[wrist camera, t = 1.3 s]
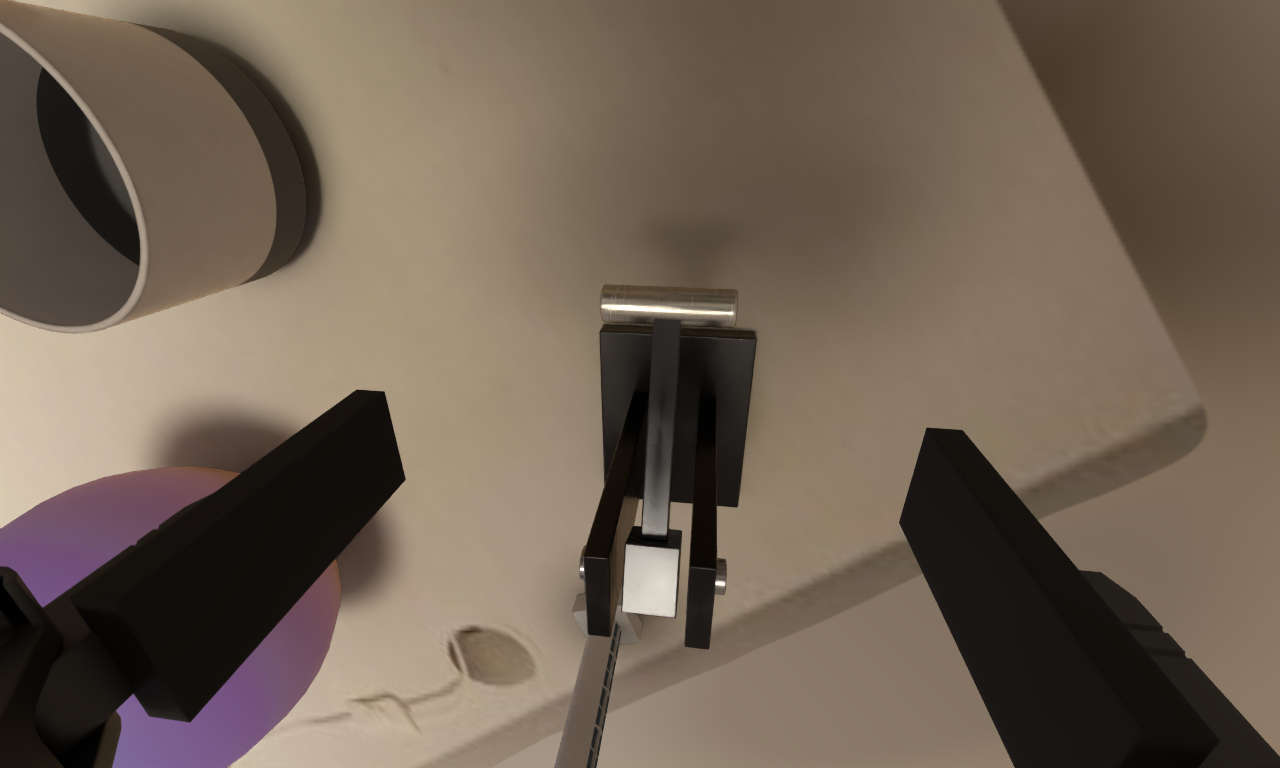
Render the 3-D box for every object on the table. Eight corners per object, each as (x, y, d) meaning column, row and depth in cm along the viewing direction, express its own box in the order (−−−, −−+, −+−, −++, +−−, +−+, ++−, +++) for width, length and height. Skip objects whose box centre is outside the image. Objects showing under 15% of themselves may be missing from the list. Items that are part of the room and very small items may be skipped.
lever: (609, 289, 23) (598, 279, 20) (735, 294, 22) (739, 284, 20) (592, 584, 23) (580, 608, 21) (716, 597, 22) (718, 623, 20)
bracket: (603, 324, 31) (520, 467, 18) (755, 331, 30) (787, 489, 17) (607, 485, 36) (546, 688, 23) (737, 496, 35) (750, 715, 22)
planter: (367, 217, 30) (210, 256, 21) (227, 308, 34) (43, 375, 25) (202, -24, 26) (-91, -111, 16) (64, 113, 30) (-236, 105, 20)
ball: (144, 530, 45) (-228, 791, 27) (181, 361, 36) (-330, 584, 19) (352, 637, 48) (139, 936, 30) (432, 505, 39) (199, 816, 22)
